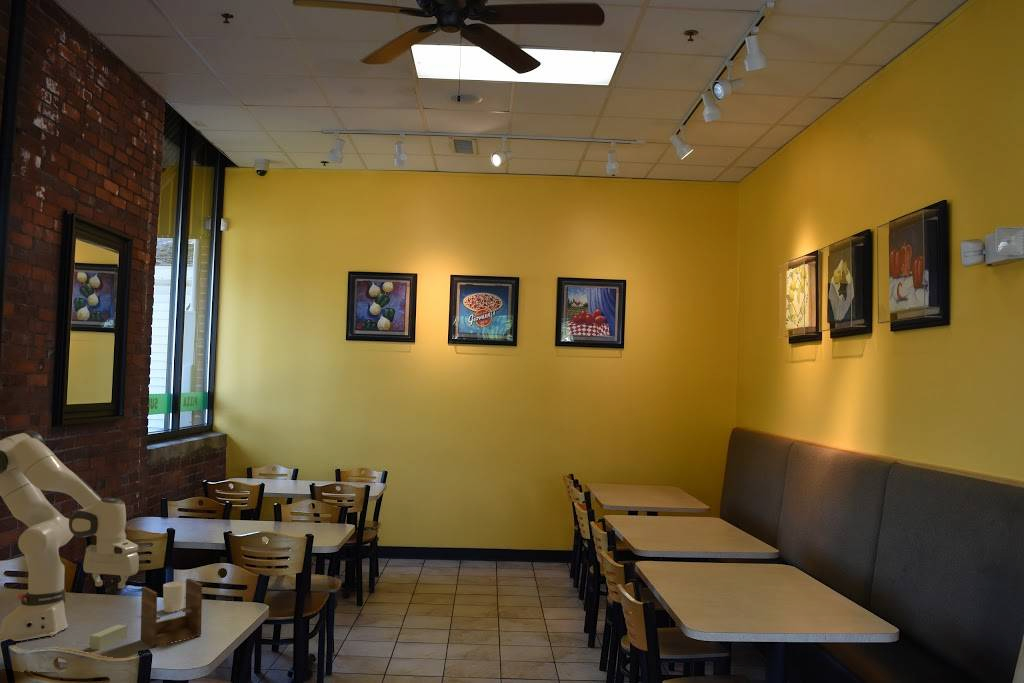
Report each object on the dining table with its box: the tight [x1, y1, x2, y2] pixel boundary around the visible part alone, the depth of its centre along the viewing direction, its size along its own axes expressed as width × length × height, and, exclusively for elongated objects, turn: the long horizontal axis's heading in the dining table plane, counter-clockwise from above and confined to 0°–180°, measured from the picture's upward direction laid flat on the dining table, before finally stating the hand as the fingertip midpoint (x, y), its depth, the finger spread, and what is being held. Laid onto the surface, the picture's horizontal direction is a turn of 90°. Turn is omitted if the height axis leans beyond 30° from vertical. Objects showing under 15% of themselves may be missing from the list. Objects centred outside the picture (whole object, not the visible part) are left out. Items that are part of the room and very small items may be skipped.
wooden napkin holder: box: [140, 578, 203, 649], centre depth 263 cm, size 16×11×18 cm
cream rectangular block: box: [89, 624, 128, 651], centre depth 258 cm, size 12×4×4 cm, turn 165°
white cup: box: [162, 580, 186, 613], centre depth 294 cm, size 8×8×10 cm
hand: (110, 586), depth 258 cm, fingers open, 8 cm apart
